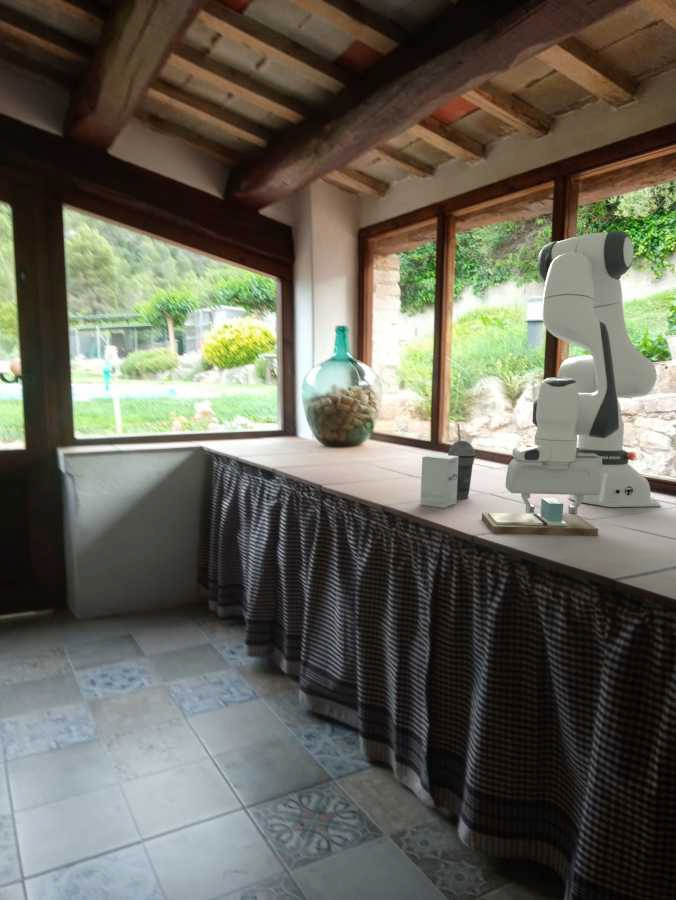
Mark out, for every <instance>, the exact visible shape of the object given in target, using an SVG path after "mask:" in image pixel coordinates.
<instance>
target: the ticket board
mask: <svg viewBox="0 0 676 900" xmlns="http://www.w3.org/2000/svg"><path fill="white" fill-rule="evenodd" d="M537 514H538V513H535V512H534V514H527V513H518V512H517V513H515V512H514V513H512V512H509V513H508V512H500V513H499V512H481V520H482V522H483V523H484V524H485V525H486V526H487V527H488V529H489V530H490V531H491V533H493V534H504V535H505V534H509V535H511V534H513V535H544V536H545V535H551V536H552V535H553V536H557V535H559V536H585V537H586V536H587V537H589V536H591V537H593V536H598V535H599V528H598V527H596V526H594V525H593V524H592V523H590V522H588V521H587V520H586V519H584V518H582V517H580V516H579V515H578V514H577V515H570V514H563V517H562V520H563V521H564V522H565V523H567V526H558V525H547V522H544V520H542V518H540V517H539V516H538V515H537Z"/></svg>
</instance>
